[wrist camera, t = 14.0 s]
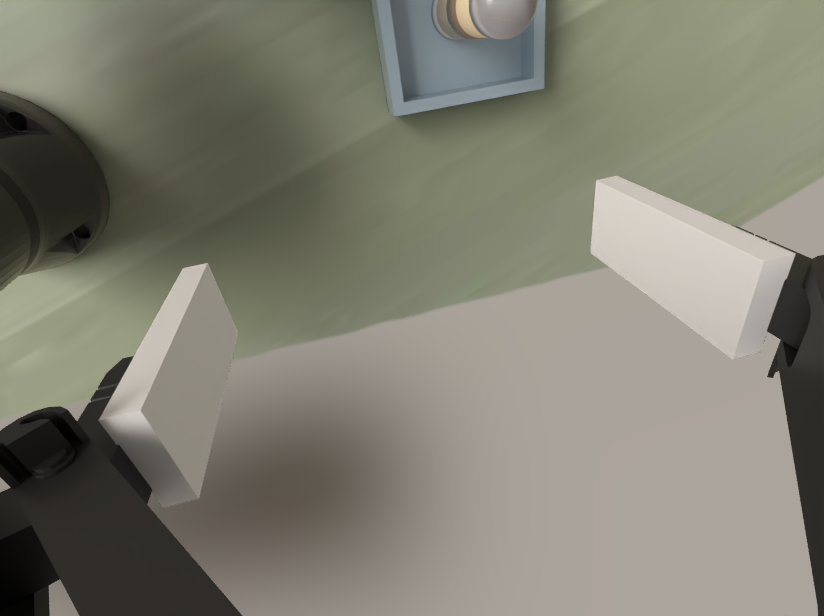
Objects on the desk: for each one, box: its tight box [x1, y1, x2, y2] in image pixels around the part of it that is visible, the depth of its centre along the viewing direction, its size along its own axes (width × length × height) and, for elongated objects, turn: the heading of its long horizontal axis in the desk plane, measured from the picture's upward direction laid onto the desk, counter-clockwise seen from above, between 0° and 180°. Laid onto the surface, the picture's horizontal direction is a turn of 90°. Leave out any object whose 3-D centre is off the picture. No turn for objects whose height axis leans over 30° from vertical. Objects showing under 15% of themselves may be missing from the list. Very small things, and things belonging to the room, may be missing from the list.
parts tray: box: [371, 0, 546, 117], centre depth 37 cm, size 14×14×4 cm
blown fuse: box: [431, 0, 538, 40], centre depth 33 cm, size 4×4×12 cm
